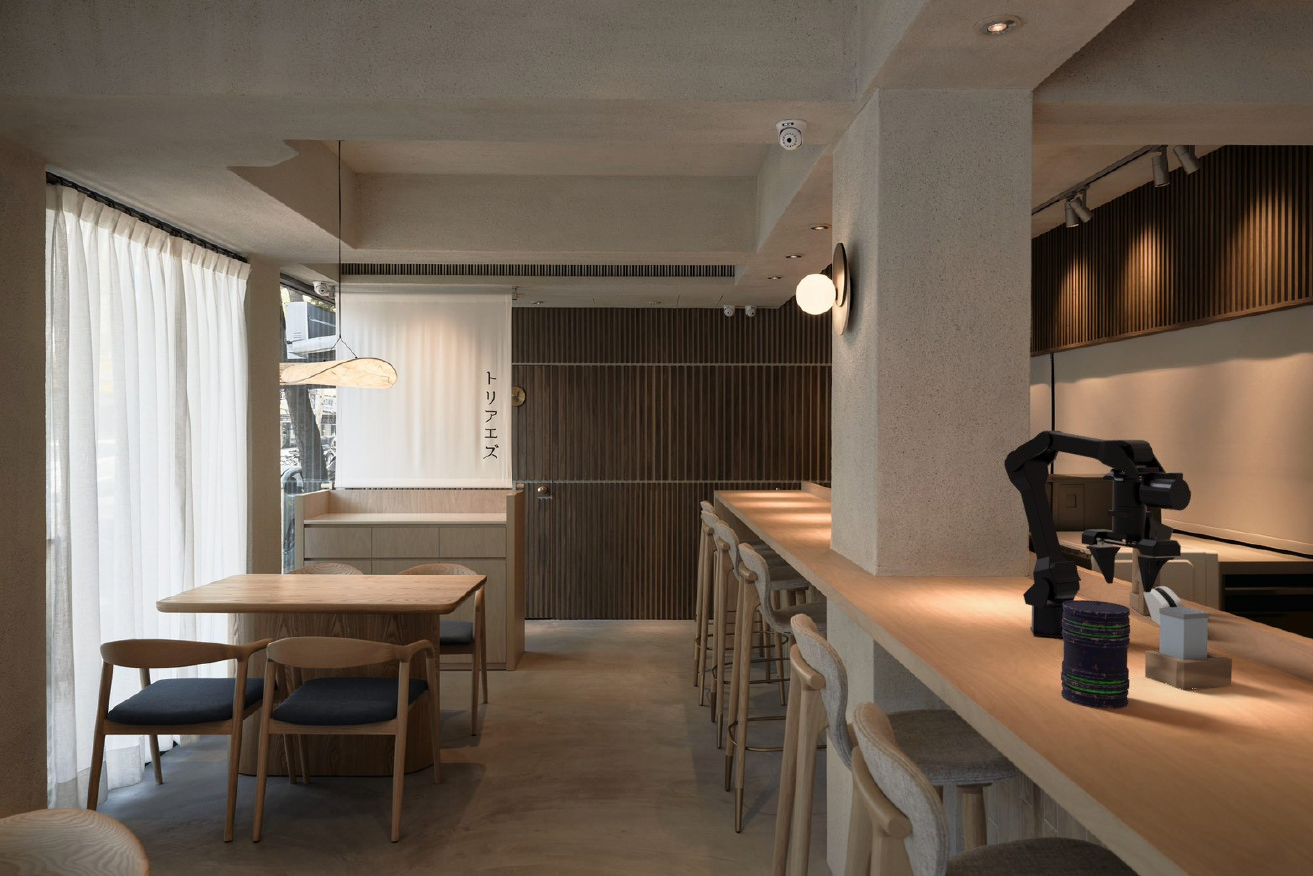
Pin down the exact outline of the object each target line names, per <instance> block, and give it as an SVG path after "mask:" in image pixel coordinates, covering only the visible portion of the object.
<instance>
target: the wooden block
mask: <svg viewBox="0 0 1313 876" xmlns="http://www.w3.org/2000/svg"><path fill="white" fill-rule="evenodd" d="M1132 544H1135V543H1132ZM1137 556H1145V555H1142V554H1141V553H1140V552H1139V550H1138V549H1136V548H1132V561H1131V563H1132V564H1131V565H1132V566H1131V569H1132V570H1131V591H1130V592H1129V607H1131V608H1132V609H1134V610H1135V611H1136V612H1138V613H1139V614H1141V615H1142V616H1145V617H1146V616H1149V617H1151V615H1150V612H1149V609H1148V606H1147V603H1146V600H1145V597H1144V594H1143V593H1144V588H1143V585H1142V580H1141V574H1140V569H1139V563H1138V558H1137ZM1160 586H1161V571H1160V572H1159V574H1158V576H1157V578H1156V581H1155V583H1154V585H1153V588H1152V589H1155V588H1156V587H1160Z"/></svg>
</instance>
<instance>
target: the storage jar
mask: <svg viewBox="0 0 1313 876" xmlns="http://www.w3.org/2000/svg"><path fill="white" fill-rule="evenodd" d="M1063 609H1064V611H1063V619H1062V627H1063V628H1062V637H1063V638H1062V639H1063V660H1062V661H1061V672H1060V680H1061V687H1062V690H1061V697H1062V698H1063V699H1064V700H1066V701H1068V702H1070V703H1072V704H1075V705H1079V706H1083V707H1088V708H1093V709H1103V710H1115V709H1116V710H1117V709H1123V708H1126V707H1127V706H1128V705H1129V698H1128V696H1129V689H1130V679H1129V678H1130V677H1129V674H1130V673H1129V671H1130V670H1129V668H1128V647H1129V645H1130V641H1131V639H1130V634H1131V623H1130V619H1131V618H1130V617H1129V616H1130V615H1131V612H1130V611H1131V609H1130V608H1129V607H1127V606H1125V605H1123V604H1117V603H1114V602H1108V601H1100V600H1089V599H1087V600H1085V599H1083V600H1081V599H1078V600H1077V599H1074V600H1073V601H1066V602H1064V603H1063Z"/></svg>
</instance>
